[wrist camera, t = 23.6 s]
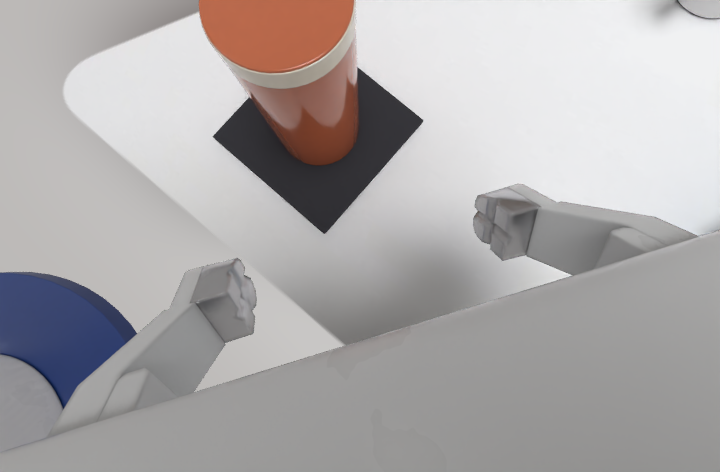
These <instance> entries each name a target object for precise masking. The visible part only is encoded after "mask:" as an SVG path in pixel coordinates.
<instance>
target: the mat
mask: <svg viewBox="0 0 720 472" xmlns="http://www.w3.org/2000/svg"><path fill="white" fill-rule="evenodd" d="M357 76H358V101H359V134H358V138H357V140H356V143H355V145H354V146H353V148H352V149H351V150H350V152H349V153H348V154H347V155H346V156H344V157H343V158H342V159H340V160H338V161H336V162H334V163H331V164H327V165H310V164H306V163H303V162H301V161H299V160H297V159H296V158H295V157H293V156H292V155H291V154H290V153H289V152H288V151H287V149H286V148H285V147H284V145H283V144H282V142H281V141H280V140H279V138H278V137H277V135H276V134H275V132H274V131H273V130H272V128H271V127H270V125H269V124H268V122H267V121H266V120H265V118H264V117H263V115H262V114H261V113H260V111H259V110H258V108H257V107H256V105H255V104H254V103H253V101H252V100H251V98H250V97H249V98H248V99H247V100H246V101H245V102H244V104H243V105H242V106H241V107H240V108H239V109H238V110H237V111H236V112H235V113H234V114H233V115H232V116H231V118H230V119H229V120H228V121H227V122H226V123H225V124H224V125H223V126H222V127H221V128H220V129H219V130H218V131H217V133H216V134H215V135H214V136H213V137H214V138H215V139H216V140H217V141H218V142H219V143H221V144H222V145H223V146H224V147H225V148H226V149H227V150H229V151H230V152H231V153H232V154H233V155H234V156H236V157H237V158H238V159H239V160H240V161H241V162H242V163H244V164H245V165H246V166H247V167H248V168H249V169H250V170H252V171H253V172H254V173H255V174H256V175H257V176H258V177H260V178H261V179H262V180H263V181H264V182H265V183H267V184H268V185H269V186H270V187H271V188H272V189H273V190H275V191H276V192H277V193H278V194H279V195H280V196H281V197H283V198H284V199H285V200H286V201H287V202H288V203H290V204H291V205H292V206H293V207H294V208H295V209H296V210H298V211H299V212H300V213H301V214H302V215H303V216H304V217H306V218H307V219H308V220H309V221H310V222H311V223H313V224H314V225H315V226H316V227H317V228H318V229H319V230H321V231H322V232H323V233H324V234H325V233H326V232H327V231H328V230H329V228H330V227H331V226H332V225H333V224H334V223H335V222H336V220H337V219H338V218H339V217H340V216H341V215H342V214H343V212H344V211H345V210H346V209H347V208H348V207H349V206H350V204H351V203H352V202H353V201H354V200H355V199H356V198H357V196H358V195H359V194H360V193H361V192H362V191H363V190H364V189H365V187H366V186H367V185H368V184H369V183H370V182H371V181H372V179H373V178H374V177H375V176H376V175H377V174H378V173H379V171H380V170H381V169H382V168H383V167H384V166H385V165H386V163H387V162H388V161H389V160H390V159H391V158H392V157H393V155H394V154H395V153H396V152H397V151H398V150H399V149H400V147H401V146H402V145H403V144H404V143H405V142H406V141H407V139H408V138H409V137H410V136H411V135H412V134H413V133H414V132H415V130H416V129H417V128H418V127H419V126H420V125H421V124H422V122H423V120H422V119H421V118H420V117H419V116H417V115H416V114H415V113H414V112H412V111H411V110H410V109H409V108H407V107H406V106H405V105H404V104H403V103H401V102H400V101H399V100H398V99H396V98H395V97H394V96H393V95H391V94H390V93H389V92H388V91H386V90H385V89H384V88H383V87H381V86H380V85H379V84H378V83H376V82H375V81H374V80H373V79H371V78H370V77H369V76H368V75H366V74H365V73H364V72H363V71H361V70H360V69H359V68H358V67H357Z"/></svg>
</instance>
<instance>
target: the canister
mask: <svg viewBox="0 0 720 472" xmlns="http://www.w3.org/2000/svg"><path fill="white" fill-rule="evenodd" d="M199 13H200V19H201V24H202V27H203V30H204V32H205V35H206V37H207V38H208V40H209V42H210V44H211V45H212V46H213V48H214V49H215V51H216V52H217V53H218V55H219V56H220V58H221V59H222V60H223V62H224V63H225V64H226V65H227V66H228V67H229V68H230V70H231V71H232V73H233V74H234V76H235V77H236V78H237V80H238V81H239V83H240V84H241V86H242V87H243V88H244V90H245V91H246V93H247V94H248V95H249V97H250V98H251V100H252V101H253V103H254V104H255V105H256V107H257V108H258V110H259V111H260V113H261V114H262V115H263V117H264V118H265V120H266V121H267V122H268V124H269V125H270V127H271V128H272V130H273V131H274V132H275V134H276V135H277V137H278V138H279V140H280V141H281V142H282V144H283V145H284V147H285V148H286V149H287V151H288V152H289V153H290V154H291V155H292V156H293V157H295V158H296V159H297V160H299V161H301V162H303V163H306V164H310V165H327V164H331V163H334V162H336V161H338V160H340V159H342V158H343V157H344V156H346V155H347V154H348V153H349V152H350V150H351V149H352V148H353V146H354V145H355V143H356V140H357V138H358V134H359V101H358V76H357V50H356V0H199Z"/></svg>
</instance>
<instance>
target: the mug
mask: <svg viewBox="0 0 720 472" xmlns="http://www.w3.org/2000/svg"><path fill="white" fill-rule="evenodd" d="M678 1H679V3H680V4H681V5H682V6H683V7H684V8H685V9H687V10H688V11H690V12H691V13H693V14H695V15H698V16H701V17H705V18H720V0H678Z"/></svg>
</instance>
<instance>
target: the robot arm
mask: <svg viewBox="0 0 720 472" xmlns="http://www.w3.org/2000/svg"><path fill="white" fill-rule="evenodd" d="M475 208H476V209H477V210H478V212H477V213H476V215H475V216H474V219H473V227H474V231H475V233H476V235H477V237H478V238H479V239H480V240H481V241H482V242H484V243H487V244H490V250H492V251H493V252H494V253H495V254H496V255H497V256H498V257H499V258H500V259H501V260H502V261H504V260H508V259H512V258H515V257H519V256H523V255H526V256H528V257H530V258H532V259H535V260H537V261H540V262H542V263H544V264H547V265H549V266H552V267H554V268H556V269H559V270H561V271H564V272H566V273H568V274H571V275H573V276H570V277H567V278H563V279H560V280H557V281H554V282H551V283H547V284H544V285H541V286H538V287H534V288H531V289H528V290H524V291H521V292H518V293H515V294H511V295H508V296H505V297H502V298H498V299H495V300H492V301H489V302H485V303H482V304H479V305H475V306H472V307H469V308H466V309H462V310H459V311H456V312H453V313H449V314H446V315H443V316H440V317H437V318H433V319H430V320H427V321H424V322H420V323H417V324H414V325H411V326H407V327H404V328H401V329H398V330H394V331H391V332H388V333H385V334H381V335H378V336H375V337H372V338H368V339H365V340H362V341H359V342H356V343H352V344H349V345H346V346H343V347H339V348H336V349H333V350H330V351H326V352H323V353H320V354H317V355H314V356H310V357H307V358H304V359H300V360H297V361H294V362H291V363H287V364H284V365H281V366H278V367H275V368H271V369H268V370H265V371H262V372H258V373H255V374H252V375H248V376H245V377H242V378H239V379H236V380H233V381H229V382H226V383H223V384H219V385H216V386H213V387H210V388H207V389H203V390H200V391H197V392H194V391H195V390H196V388H197V386H198V385H199V384H200V382H201V380H202V379H203V378H204V376H205V374H206V373H207V371H208V370H209V368H210V367H211V365H212V364H213V362H214V361H215V359H216V358H217V356H218V355H219V353H220V352H221V350H222V349H223V347H224V346H225V343H226V342H229V341H232V340H235V339H238V338H242V337H245V336H248V335H251V334H253V333H254V323H255V315H254V314H253V312H252V310H253V309H254V308H255V306H256V301H257V298H256V291H255V288H254V285H253V282H252V280H251V278H249V277H247V276H245V275H244V271H245V267H244V265H243V264H242V262H241V260H240V259H238V258H236V259H232V260H228V261H223V262H219V263H216V264H211V265H207V266H203V267H199V268H195V269H192V270H188V271H187V272H185V274H184V276H183V279H182V281H181V283H180V285H179V288H178V290H177V292H176V295H175V297H174V299H173V301H172V304H171V306H170V308H169V309H168V310H164V311H163V312H161V313H160V314H159V315H158V316H157V317H156V318H155V319H153V320H152V321H151V322H150V323H149V324H148V325H147V326H145V327H144V328H143V329H142V330H141V331H140V332H139V333H137V334H136V335H135V336H134V337H133V338H132V339H131V340H129V341H128V342H127V343H126V344H125V345H124V346H123V347H121V348H120V349H119V350H118V351H117V352H116V353H115V354H113V355H112V356H111V357H110V358H109V359H108V360H107V361H105V362H104V363H103V364H102V365H101V366H100V367H99V368H97V369H96V370H95V371H94V372H93V373H92V374H91V375H89V376H88V377H87V378H86V379H85V380H84V381H83V382H81V383H80V384H79V385H78V386H77V388H76V389H75V391H74V393H73V394H72V396H71V398H70V399H69V401H68V403H67V404H66V406H65V408H64V409H63V408H62V405H61V402H60V400H59V398H58V396H57V394H56V392H55V391H54V389H53V388H52V386H51V385H50V383H49V382H48V381H47V380H46V379H45V377H44V376H43V375H42V374H40V373H39V372H38V371H37V370H36V369H35V368H33V367H32V366H30V365H29V364H27V363H25V362H23V361H21V360H19V359H17V358H14V357H11V356H7V355H2V354H0V472H720V230H719V231H716V232H712V233H709V234H706V235H703V236H697V235H695V234H692V233H690V232H688V231H686V230H683V229H681V228H679V227H677V226H674V225H672V224H670V223H667V222H665V221H663V220H661V219H658V218H656V217H652V216H646V215H640V214H634V213H628V212H621V211H615V210H609V209H603V208H597V207H591V206H585V205H579V204H573V203H567V202H558V203H557V202H555V201H553V200H551V199H549V198H548V197H546V196H544V195H542V194H540V193H538V192H536V191H535V190H533V189H531V188H529V187H527V186H525V185H524V184H515V185H512V186H509V187H505V188H503V189H499V190H496V191H492V192H489V193H485V194H482V195H478V196H477V198H476V200H475Z"/></svg>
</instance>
